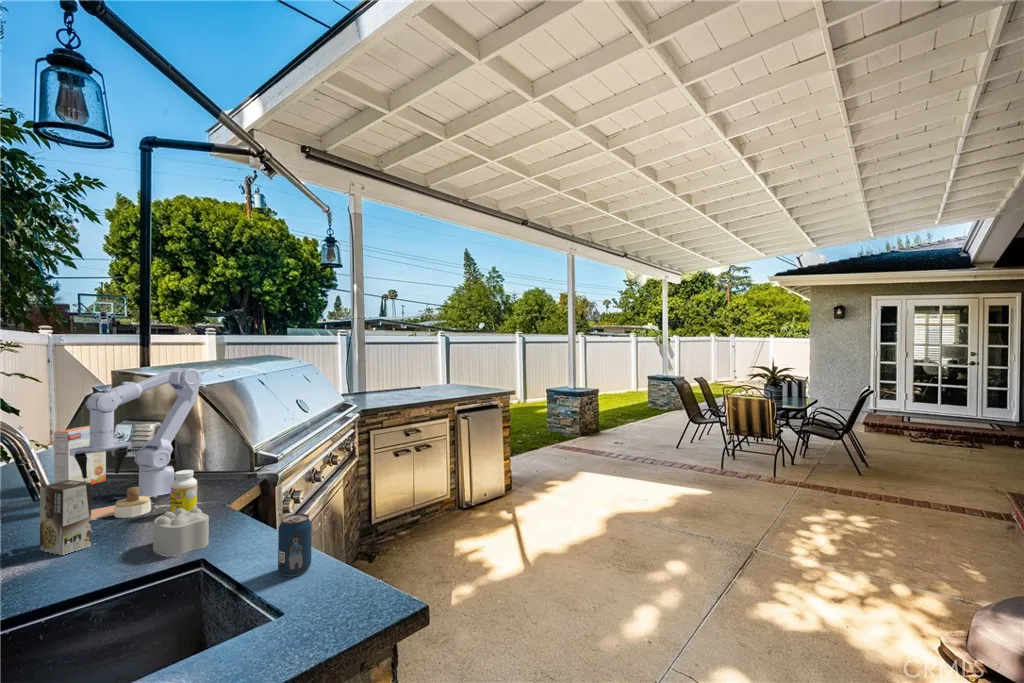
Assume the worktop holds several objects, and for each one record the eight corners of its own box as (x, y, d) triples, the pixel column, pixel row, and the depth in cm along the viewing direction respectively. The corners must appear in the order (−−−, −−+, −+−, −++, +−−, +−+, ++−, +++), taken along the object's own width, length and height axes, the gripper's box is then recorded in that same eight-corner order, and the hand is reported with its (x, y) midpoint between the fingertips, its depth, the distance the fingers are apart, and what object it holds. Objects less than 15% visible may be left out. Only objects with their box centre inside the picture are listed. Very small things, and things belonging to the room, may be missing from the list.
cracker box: (91, 480, 179) (92, 424, 179) (106, 481, 178) (107, 424, 178) (52, 492, 165) (53, 431, 165) (68, 493, 164) (68, 431, 165)
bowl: (146, 507, 151) (146, 496, 151) (153, 514, 145) (154, 502, 145) (111, 515, 144) (111, 503, 144) (118, 521, 139) (118, 509, 139)
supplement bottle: (164, 516, 143) (165, 473, 143) (187, 509, 149) (187, 467, 150) (179, 519, 141) (180, 475, 141) (202, 512, 147) (202, 470, 147)
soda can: (298, 561, 115) (299, 510, 115) (317, 568, 112) (318, 516, 112) (271, 572, 109) (271, 519, 109) (290, 580, 106) (291, 525, 106)
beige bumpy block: (169, 560, 115) (169, 523, 115) (143, 547, 122) (143, 513, 122) (214, 544, 124) (214, 510, 124) (187, 534, 131) (188, 502, 131)
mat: (119, 506, 152) (119, 504, 152) (126, 513, 145) (126, 511, 145) (76, 514, 144) (76, 512, 144) (82, 523, 138) (82, 521, 138)
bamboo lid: (135, 497, 150) (135, 483, 150) (156, 499, 148) (156, 485, 148) (108, 505, 142) (108, 490, 142) (130, 508, 140) (130, 493, 140)
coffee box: (92, 546, 122) (93, 482, 122) (61, 557, 116) (62, 489, 116) (69, 541, 125) (70, 478, 125) (38, 551, 119) (38, 485, 119)
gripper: (127, 427, 158) (127, 468, 158) (68, 432, 147) (67, 477, 147) (133, 429, 153) (132, 472, 153) (72, 435, 142) (71, 482, 142)
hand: (100, 475), depth 150 cm, fingers open, 7 cm apart
